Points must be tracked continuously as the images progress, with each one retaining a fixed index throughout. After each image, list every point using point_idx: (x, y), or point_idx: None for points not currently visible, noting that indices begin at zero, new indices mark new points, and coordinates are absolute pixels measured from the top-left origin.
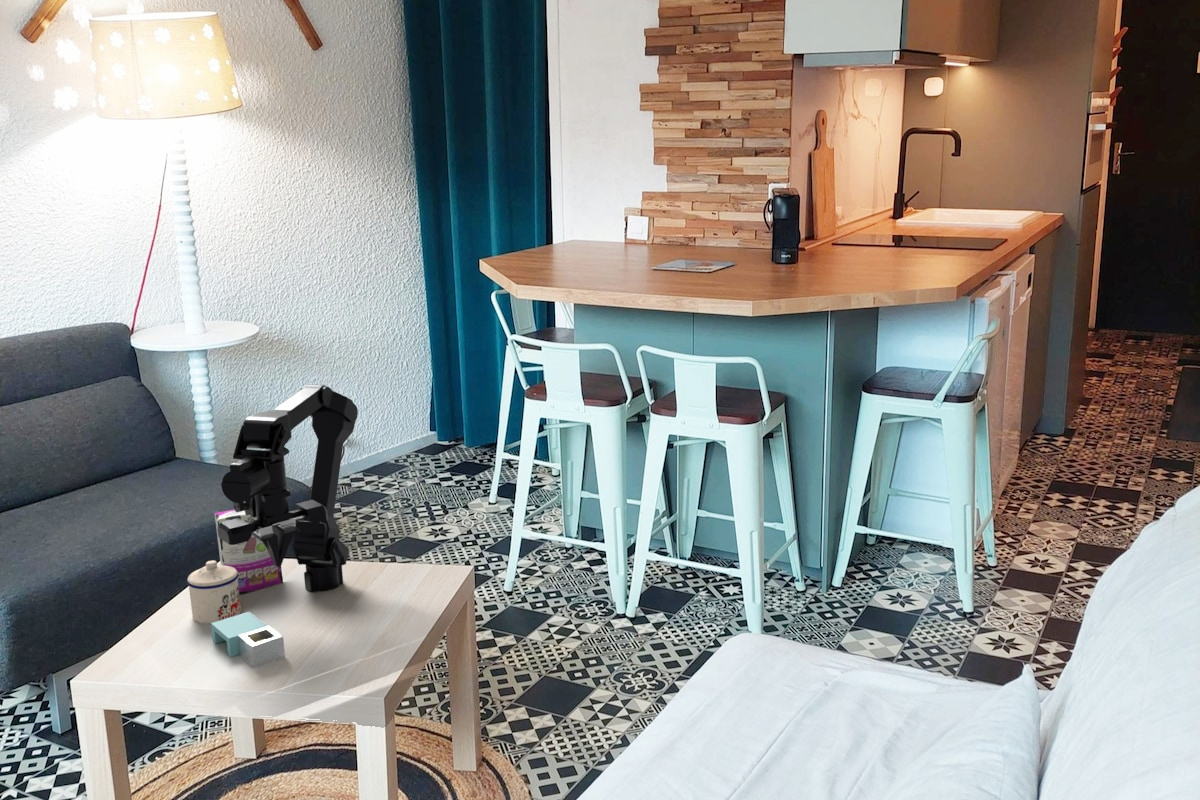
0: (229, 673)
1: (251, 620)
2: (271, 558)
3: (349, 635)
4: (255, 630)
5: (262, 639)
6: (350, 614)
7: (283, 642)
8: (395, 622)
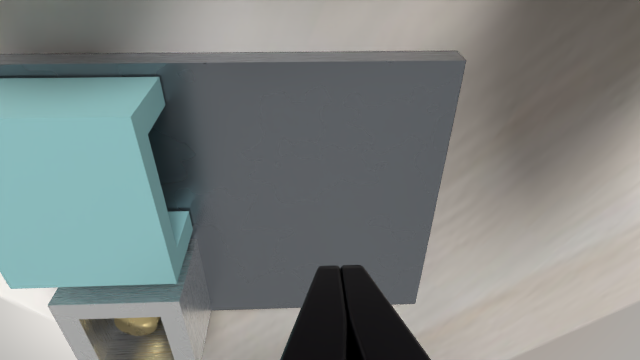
0: None
1: (124, 211)
2: (296, 322)
3: (436, 256)
4: (119, 306)
5: (142, 318)
6: (551, 139)
7: (201, 353)
8: (577, 263)
